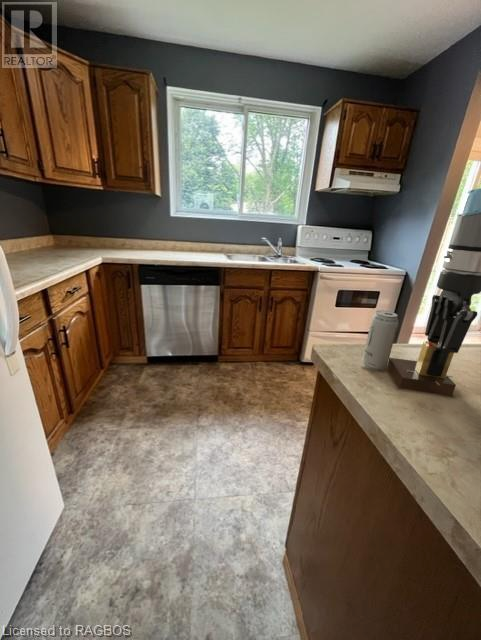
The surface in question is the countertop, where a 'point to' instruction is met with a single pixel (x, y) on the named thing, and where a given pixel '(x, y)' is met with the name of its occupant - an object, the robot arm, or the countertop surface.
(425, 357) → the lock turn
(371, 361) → the energy drink can
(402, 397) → the countertop surface
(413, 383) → the plate
